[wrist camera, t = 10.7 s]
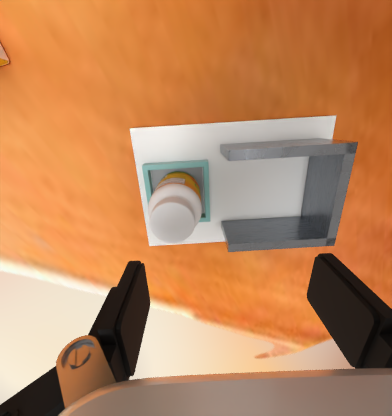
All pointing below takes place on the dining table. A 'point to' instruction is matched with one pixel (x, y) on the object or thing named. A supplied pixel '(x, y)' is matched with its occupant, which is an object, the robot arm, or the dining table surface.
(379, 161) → the dining table surface
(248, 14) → the dining table surface
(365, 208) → the dining table surface
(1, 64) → the medicine bottle
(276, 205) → the base plate
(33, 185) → the dining table surface
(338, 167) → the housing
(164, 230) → the supplement bottle
